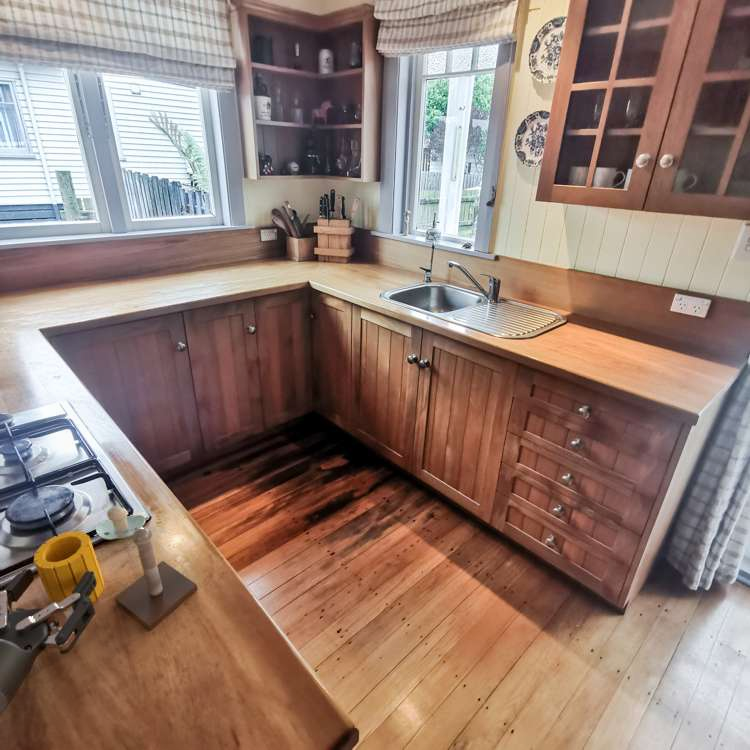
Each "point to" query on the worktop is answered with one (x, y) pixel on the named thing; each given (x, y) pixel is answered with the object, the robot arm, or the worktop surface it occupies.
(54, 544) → the yellow grooved hollow cylinder
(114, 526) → the pacifier
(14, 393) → the worktop surface
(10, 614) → the robot arm
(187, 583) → the stand
